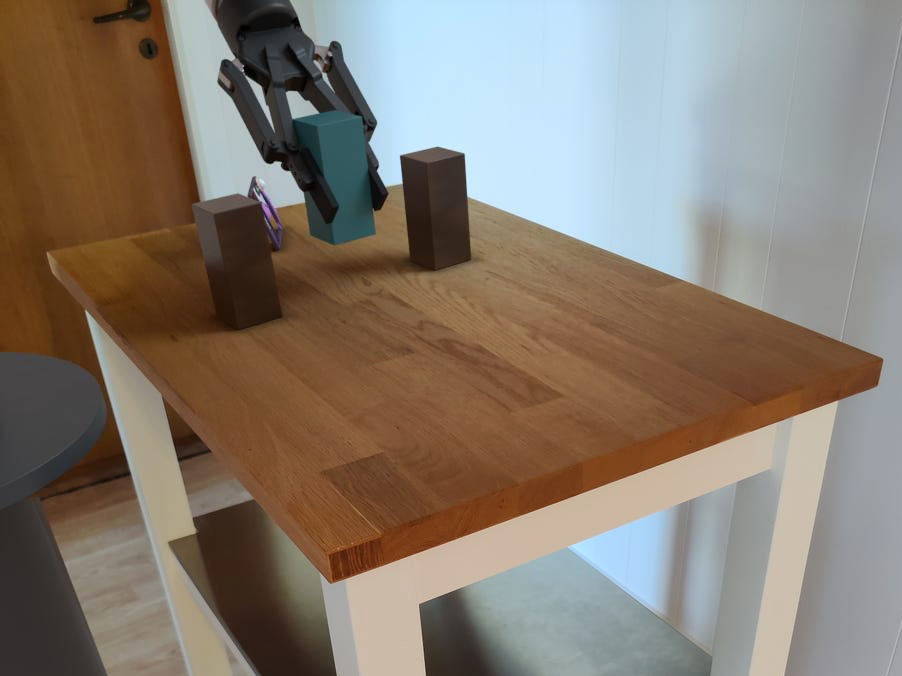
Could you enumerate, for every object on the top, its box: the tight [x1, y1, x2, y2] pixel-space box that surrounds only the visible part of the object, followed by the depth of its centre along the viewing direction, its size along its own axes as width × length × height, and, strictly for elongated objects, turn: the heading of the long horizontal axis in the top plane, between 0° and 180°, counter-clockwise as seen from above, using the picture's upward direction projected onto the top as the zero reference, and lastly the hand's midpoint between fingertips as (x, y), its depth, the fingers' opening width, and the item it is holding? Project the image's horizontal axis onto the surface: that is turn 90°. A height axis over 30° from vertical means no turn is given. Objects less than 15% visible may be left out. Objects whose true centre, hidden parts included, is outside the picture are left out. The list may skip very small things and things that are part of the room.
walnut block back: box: [399, 146, 472, 271], centre depth 108 cm, size 5×5×11 cm
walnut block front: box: [191, 193, 283, 330], centre depth 98 cm, size 5×5×11 cm
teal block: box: [292, 110, 377, 247], centre depth 100 cm, size 5×5×11 cm
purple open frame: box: [246, 175, 284, 251], centre depth 120 cm, size 7×5×9 cm
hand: (357, 208), depth 99 cm, fingers closed on teal block, 5 cm apart
